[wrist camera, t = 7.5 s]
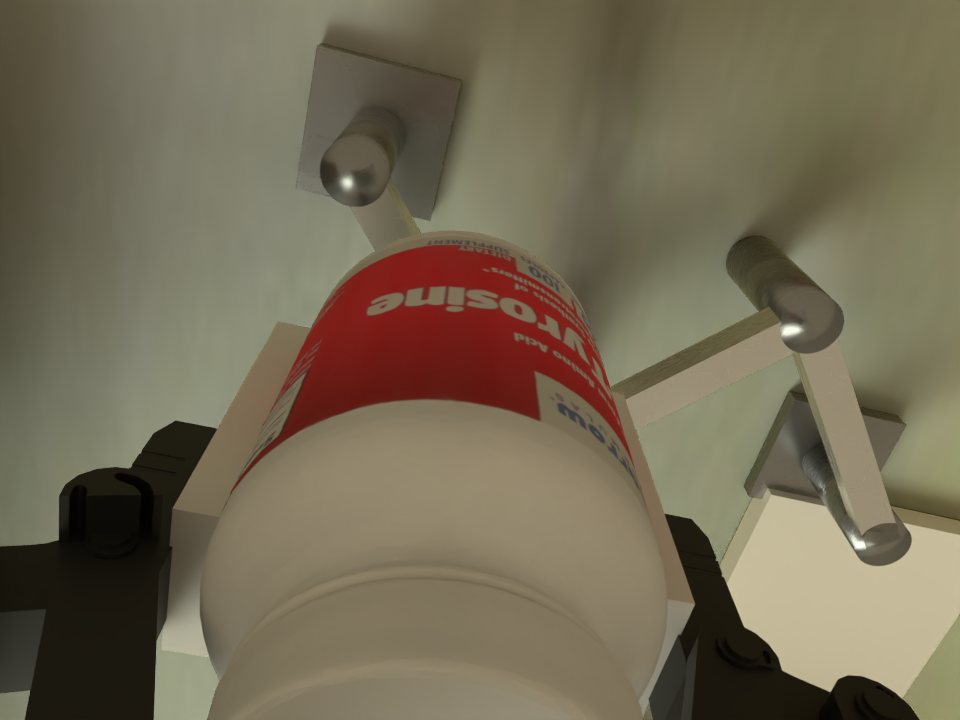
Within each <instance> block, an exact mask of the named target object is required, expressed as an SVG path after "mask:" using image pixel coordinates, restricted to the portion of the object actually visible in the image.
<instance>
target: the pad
mask: <svg viewBox="0 0 960 720" xmlns="http://www.w3.org/2000/svg"><path fill="white" fill-rule="evenodd" d="M891 508H892V509H893V511H894V512H895V513H896V515H897V516H898V517H899V519H900V520H901V521H902V523H903V524H904V525H905V527H906V528H907V529H908V531H909V532H910V534H911V537H912V543H911V546H910V548H909V550H908V552H907V553H906V554H905V555H904V556H903V557H902V558H901V559H899V560H898V561H896V562H894V563H892V564H889V565H885V566H871V565H868V564H865V563H864V562H862V561H861V560H860V559H859V558H858V556H857V555H856V553H855V551H854V550H853V548H852V547H851V545H850V544H849V542H848V540H847V539H846V537H845V536H844V534H843V533H842V531H841V529H840V528H839V526H838V525H837V523H836V522H835V520H834V519H833V517H832V515H831V514H830V512H829V511H828V509H827V508H826V506H825V504H824V503H823V501H822V500H821V499H817V498H812V497H807V496H803V495H798V494H794V493H789V492H784V491H780V490H775V489H770V488H767V490H766V492H765V494H764V496H763V498H762V499H758V498H754V497H753V498H752V500H751V502H750V504H749V506H748V508H747V510H746V512H745V514H744V516H743V519H742V521H741V523H740V525H739V527H738V529H737V531H736V533H735V535H734V537H733V539H732V541H731V543H730V545H729V547H728V549H727V551H726V553H725V555H724V558H723V560H722V562H721V564H720V569H721V571H722V577H724V578H725V581H726V583H727V586H728V588H729V591H730V593H731V596H732V598H733V601H734V603H735V606H736V608H737V611H738V613H739V616H740V618H741V621H742V623H743V625H744V627H745V628H747V629H749V630H750V631H752V632H754V633H756V634H757V635H758V636H759V637H761V638H762V639H763V640H764V641H765V642H767V643H768V644H769V645H770V647H771V648H772V649H773V651H774V652H775V653H776V655H777V656H778V658H779V662H780V665H781V668H782V671H784V672H786V673H788V674H790V675H792V676H794V677H796V678H799V679H801V680H803V681H806V682H808V683H810V684H813V685H815V686H817V687H820V688H822V689H824V690H827V691H829V692H831V690H832V688H833V687H834V685H835V683H836V682H837V680H838V679H840V678H842V677H845V676H847V675H853V676H863V677H866V678H868V679H871V680H874V681H876V682H879V683H881V684H882V685H884V686H885V687H887V688H889V689H890V690H892V691H893V692H895V693H896V694H897V695H898V696H900V697H901V698H903V697H904V695H905V694H906V692H907V691H908V689H909V688H910V686H911V685H912V683H913V682H914V680H915V679H916V677H917V676H918V674H919V673H920V672H921V670H922V669H923V667H924V666H925V664H926V663H927V661H928V660H929V658H930V657H931V655H932V654H933V652H934V651H935V649H936V648H937V647H938V645H939V644H940V642H941V641H942V639H943V638H944V636H945V635H946V633H947V632H948V630H949V629H950V627H951V626H952V624H953V623H954V622H955V620H956V619H957V617H958V616H959V614H960V521H958V520H954V519H949V518H944V517H940V516H935V515H931V514H926V513H921V512H917V511H912V510H907V509H903V508H898V507H894V506H891Z"/></svg>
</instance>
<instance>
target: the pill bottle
mask: <svg viewBox="0 0 960 720" xmlns="http://www.w3.org/2000/svg"><path fill="white" fill-rule="evenodd" d="M200 619H201V625H202V630H203V636H204V640H205V644H206V647H207V651H208V654H209V657H210V660H211V662H212V665H213V667H214V669H215V672H216V674H217V676H218V678H219V680H220V682H219V684H218V686H217V689H216V691H215V694H214V698H213V701H212V705H211V708H210V712H209V715H208V719H207V720H643V716H642V711H641V707H640V704H639V702H638V701H639V699H640V698H641V696H642V694H643V693H644V691H645V689H646V688H647V686H648V683H649V681H650V679H651V677H652V675H653V673H654V671H655V668H656V665H657V662H658V659H659V656H660V653H661V649H662V645H663V641H664V637H665V632H666V622H667V586H666V580H665V574H664V567H663V563H662V559H661V552H660V547H659V545H658V542H657V538H656V535H655V531H654V528H653V525H652V522H651V519H650V515H649V512H648V509H647V506H646V503H645V500H644V496H643V493H642V488H641V486H640V483H639V481H638V477H637V474H636V471H635V467H634V464H633V460H632V457H631V454H630V450H629V447H628V444H627V441H626V438H625V434H624V431H623V428H622V424H621V421H620V417H619V414H618V411H617V408H616V405H615V402H614V398H613V395H612V392H611V389H610V386H609V382H608V380H607V376H606V373H605V370H604V366H603V363H602V360H601V356H600V354H599V351H598V347H597V344H596V341H595V338H594V335H593V331H592V329H591V326H590V323H589V321H588V319H587V316H586V314H585V312H584V310H583V308H582V306H581V304H580V302H579V300H578V299H577V297H576V296H575V294H574V293H573V291H572V290H571V289H570V287H569V286H568V285H567V283H566V282H565V281H564V280H563V279H562V278H561V277H560V276H559V275H558V274H557V273H556V272H555V271H554V270H553V269H552V268H550V267H549V266H548V265H547V264H546V263H544V262H543V261H542V260H540V259H539V258H537V257H536V256H534V255H532V254H531V253H529V252H528V251H526V250H524V249H522V248H520V247H518V246H516V245H514V244H511V243H509V242H506V241H504V240H501V239H499V238H495V237H491V236H487V235H483V234H479V233H472V232H463V231H439V232H428V233H421V234H417V235H413V236H410V237H406V238H403V239H400V240H397V241H395V242H393V243H390V244H388V245H386V246H384V247H382V248H380V249H378V250H377V251H375V252H373V253H371V254H370V255H368V256H367V257H366V258H364V259H363V260H361V261H360V262H359V263H358V264H357V265H355V266H354V267H353V268H352V269H351V270H350V271H349V272H348V273H347V274H346V275H345V276H344V277H343V278H342V279H341V280H340V282H339V283H338V284H337V285H336V287H335V288H334V289H333V290H332V292H331V294H330V295H329V297H328V299H327V300H326V302H325V304H324V306H323V307H322V309H321V311H320V313H319V315H318V316H317V318H316V320H315V322H314V323H313V325H312V327H311V330H310V331H309V334H308V335H307V337H306V340H305V342H304V344H303V346H302V347H301V350H300V352H299V354H298V356H297V358H296V360H295V362H294V364H293V366H292V368H291V370H290V372H289V374H288V376H287V378H286V380H285V382H284V384H283V386H282V388H281V391H280V393H279V395H278V397H277V398H276V401H275V403H274V405H273V407H272V409H271V411H270V413H269V415H268V417H267V419H266V421H265V422H264V424H263V425H262V428H261V431H260V434H259V436H258V438H257V440H256V442H255V444H254V447H253V449H252V451H251V453H250V455H249V457H248V459H247V461H246V463H245V465H244V467H243V469H242V471H241V473H240V475H239V477H238V479H237V481H236V483H235V485H234V487H233V489H232V490H231V492H230V496H229V498H228V500H227V502H226V504H225V506H224V508H223V510H222V513H221V515H220V518H219V520H218V523H217V526H216V528H215V531H214V533H213V535H212V538H211V540H210V543H209V546H208V550H207V554H206V558H205V562H204V566H203V571H202V576H201V584H200Z"/></svg>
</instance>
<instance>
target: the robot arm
mask: <svg viewBox="0 0 960 720" xmlns="http://www.w3.org/2000/svg"><path fill="white" fill-rule="evenodd" d="M310 330H311V328H306V327H301V326H297V325H292V324H287V323H282V322H278V323H277V324H276V326H275V328H274V330H273V331H272V333H271V335H270V337H269V338H268V340H267V342H266V344H265V346H264V347H263V349H262V351H261V353H260V354H259V356H258V358H257V360H256V361H255V363H254V365H253V367H252V369H251V370H250V372H249V374H248V376H247V377H246V379H245V381H244V383H243V385H242V386H241V388H240V390H239V392H238V393H237V395H236V397H235V399H234V400H233V402H232V404H231V406H230V408H229V409H228V411H227V413H226V415H225V416H224V418H223V420H222V422H221V424H220V425H219V427H218V429H216V428H211V427H206V426H201V425H195V424H190V423H185V422H180V421H174V422H173V423H171V424H169V425H167V426H166V427H164V428H162V429H160V430H159V431H157V432H155V433H154V434H153V435H152V437H151V438H150V440H149V441H148V442H147V444H146V445H145V447H144V448H143V450H142V453H141V454H139V455H138V457H137V458H136V460H135V461H134V463H133V464H132V467H131V468H129V469H127V468H118V467H113V468H103V469H96V470H93V471H90V472H87V473H84V474H81V475H78V476H77V477H75V478H74V479H73V480H71V481H70V482H68V483H67V484H66V485H65V486H64V488H63V490H62V492H61V493H60V495H59V540H58V541H54V542H50V543H45V544H37V545H23V546H1V547H0V693H8V692H17V691H26V690H31V691H30V696H29V701H28V706H27V711H26V717H25V720H153V719H154V692H155V666H156V640H157V638H158V636H159V634H160V632H161V630H162V628H163V631H162V643H161V650H167V651H173V652H179V653H185V654H191V655H197V656H203V657H209V654H208V651H207V647H206V644H205V640H204V636H203V630H202V625H201V619H200V584H201V576H202V571H203V566H204V562H205V558H206V554H207V550H208V546H209V543H210V540H211V538H212V535H213V533H214V531H215V528H216V526H217V523H218V520H219V518H220V515H221V513H222V510H223V508H224V506H225V504H226V502H227V500H228V498H229V496H230V492H231V490H232V489H233V487H234V485H235V483H236V481H237V479H238V477H239V475H240V473H241V471H242V469H243V467H244V465H245V463H246V461H247V459H248V457H249V455H250V453H251V451H252V449H253V447H254V444H255V442H256V440H257V438H258V436H259V434H260V431H261V428H262V425H263V424H264V422H265V421H266V419H267V417H268V415H269V413H270V411H271V409H272V407H273V405H274V403H275V401H276V398H277V397H278V395H279V393H280V391H281V388H282V386H283V384H284V382H285V380H286V378H287V376H288V374H289V372H290V370H291V368H292V366H293V364H294V362H295V360H296V358H297V356H298V354H299V352H300V350H301V347H302V346H303V344H304V342H305V340H306V337H307V335H308V334H309V331H310ZM612 395H613V398H614V402H615V405H616V408H617V411H618V414H619V417H620V421H621V424H622V428H623V431H624V434H625V438H626V441H627V444H628V447H629V450H630V454H631V457H632V460H633V464H634V467H635V471H636V474H637V477H638V481H639V483H640V486H641V488H642V493H643V496H644V500H645V503H646V506H647V509H648V512H649V515H650V519H651V522H652V525H653V528H654V531H655V535H656V538H657V542H658V545H659V547H660V552H661V559H662V563H663V567H664V574H665V580H666V586H667V622H666V632H665V637H664V641H663V645H662V649H661V653H660V656H659V659H658V662H657V665H656V668H655V671H654V673H653V675H652V677H651V679H650V681H649V683H648V686H647V688H646V689H645V691H644V693H643V694H642V696H641V698H640V699H639V701H638V702H639V704H640V707H641V711H642V716H644V714H645V711H646V709H647V707H648V705H649V703H650V708H651V712H652V716H653V720H919V718H918V717H917V715H916V714H915V713H914V711H913V710H912V708H911V707H910V706H909V705H908V704H907V703H906V702H905V701H904V700H903V699H902V698H901V697H900V696H898V695H897V694H896V693H895V692H893V691H892V690H890V689H889V688H887V687H885V686H884V685H882V684H881V683H879V682H876V681H874V680H871V679H868V678H866V677H863V676H853V675H847V676H845V677H842V678H840V679H838V680H837V682H836V683H835V685H834V687H833V688H832V690H831V692H829V691H827V690H824V689H822V688H820V687H817V686H815V685H813V684H810V683H808V682H806V681H803V680H801V679H799V678H796V677H794V676H792V675H790V674H788V673H786V672H784V671H782V668H781V665H780V662H779V658H778V656H777V655H776V653H775V652H774V651H773V649H772V648H771V647H770V645H769V644H768V643H767V642H765V641H764V640H763V639H762V638H761V637H759V636H758V635H757V634H756V633H754V632H752V631H750V630H749V629H747V628H745V627H744V625H743V623H742V621H741V618H740V616H739V613H738V611H737V608H736V606H735V603H734V601H733V598H732V596H731V593H730V591H729V588H728V586H727V583H726V581H725V578H724V577H722V571H721V569H720V566H719V564H718V561H716V556H715V554H714V551H713V549H712V546H711V544H710V541H709V539H708V537H707V536H706V535H705V534H704V533H703V532H702V531H701V529H700V528H699V527H698V526H697V525H696V524H695V523H694V522H693V520H692V519H688V518H683V517H678V516H673V515H668V514H664V511H663V508H662V506H661V503H660V500H659V497H658V494H657V491H656V488H655V485H654V482H653V479H652V476H651V473H650V470H649V467H648V464H647V462H646V459H645V456H644V453H643V450H642V447H641V444H640V441H639V438H638V435H637V432H636V429H635V426H634V423H633V421H632V418H631V415H630V412H629V409H628V406H627V403H626V400H625V397H624V394H621V393H616V392H612ZM209 658H210V657H209Z"/></svg>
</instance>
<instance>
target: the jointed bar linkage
mask: <svg viewBox="0 0 960 720" xmlns="http://www.w3.org/2000/svg"><path fill="white" fill-rule="evenodd" d="M461 83H462V80H458V79H455V78H451V77H447V76H443V75H439V74H435V73H432V72H428V71H424V70H420V69H416V68H413V67H409V66H405V65H401V64H397V63H393V62H390V61H386V60H382V59H378V58H374V57H371V56H367V55H363V54H359V53H355V52H351V51H348V50H344V49H340V48H336V47H332V46H329V45H325V44H319V45H317V49H316V56H315V63H314V69H313V76H312V83H311V90H310V96H309V103H308V110H307V116H306V123H305V130H304V137H303V143H302V150H301V157H300V163H299V170H298V177H297V184H296V188H297V189H301V190H305V191H309V192H313V193H318V194H322V195H326V196H330V197H332V198H333V199H335V200H336V201H338V202H339V203H341V204H344V205H347V206H350V208H351V210H352V212H353V213H354V215H355V217H356V218H357V220H358V222H359V224H360V225H361V227H362V229H363V230H364V232H365V234H366V236H367V237H368V239H369V241H370V242H371V244H372V246H373V248H374V249H375V251H377V250H378V249H380V248H382V247H384V246H386V245H388V244H390V243H393V242H395V241H397V240H400V239H403V238H406V237H410V236H413V235H417V234H421V232H420V230H419V229H418V227H417V225H416V223H415V221H414V220H413V218H412V216H413V217H417V218H421V219H425V220H429V221H430V219H431V214H432V210H433V206H434V201H435V197H436V192H437V188H438V184H439V179H440V175H441V170H442V166H443V162H444V157H445V153H446V149H447V144H448V140H449V135H450V131H451V127H452V122H453V118H454V113H455V109H456V105H457V100H458V96H459V91H460V87H461ZM726 268H727V271H728V274H729V275H730V277H731V278H732V279H733V280H734V282H735V283H736V284H737V285H738V287H739V288H740V289H741V290H742V292H743V293H744V294H745V295H746V297H747V298H748V299H749V300H750V302H751V303H752V304H753V305H754V306H755V308H756V309H757V310H758V311H759V312H757V313H755V314H753V315H751V316H749V317H747V318H745V319H743V320H741V321H739V322H737V323H736V324H734V325H732V326H730V327H728V328H726V329H724V330H722V331H720V332H718V333H716V334H714V335H712V336H710V337H708V338H706V339H704V340H702V341H700V342H698V343H696V344H694V345H692V346H690V347H688V348H686V349H684V350H682V351H680V352H678V353H676V354H674V355H672V356H670V357H669V358H667V359H665V360H663V361H661V362H659V363H657V364H655V365H653V366H651V367H649V368H647V369H645V370H643V371H641V372H639V373H637V374H635V375H633V376H631V377H629V378H627V379H625V380H623V381H621V382H619V383H617V384H615V385H613V386H611V387H610V389H611V392H616V393H621V394H624V397H625V400H626V403H627V406H628V409H629V412H630V415H631V418H632V421H633V423H634V426H635V429H636V430H638V429H640V428H642V427H644V426H646V425H648V424H650V423H652V422H654V421H656V420H658V419H660V418H662V417H664V416H666V415H668V414H670V413H672V412H674V411H676V410H678V409H681V408H683V407H685V406H687V405H689V404H691V403H693V402H695V401H697V400H699V399H701V398H703V397H705V396H707V395H709V394H711V393H713V392H715V391H717V390H719V389H721V388H723V387H725V386H727V385H730V384H732V383H734V382H736V381H738V380H740V379H742V378H744V377H746V376H748V375H750V374H752V373H754V372H756V371H758V370H760V369H762V368H764V367H766V366H768V365H770V364H772V363H774V362H777V361H779V360H781V359H783V358H785V357H787V356H789V355H791V354H792V355H793V358H794V361H795V364H796V367H797V370H798V372H799V375H800V378H801V381H802V384H803V387H804V390H805V393H806V395H804V394H800V393H795V392H791V391H789V393H788V395H787V397H786V399H785V401H784V403H783V405H782V407H781V410H780V412H779V414H778V416H777V418H776V420H775V422H774V424H773V426H772V428H771V430H770V433H769V435H768V437H767V439H766V441H765V443H764V445H763V447H762V449H761V451H760V453H759V456H758V458H757V460H756V462H755V464H754V466H753V468H752V470H751V472H750V474H749V476H748V479H747V481H746V483H745V485H744V488H745V490H746V492H747V494H748V496H749V497H754V498H758V499H762V498H763V496H764V494H765V492H766V490H767V488H770V489H775V490H780V491H784V492H789V493H794V494H798V495H803V496H807V497H812V498H817V499H821V500H822V501H823V503H824V504H825V506H826V508H827V509H828V511H829V512H830V514H831V515H832V517H833V519H834V520H835V522H836V523H837V525H838V526H839V528H840V529H841V531H842V533H843V534H844V536H845V537H846V539H847V540H848V542H849V544H850V545H851V547H852V548H853V550H854V551H855V553H856V555H857V556H858V558H859V559H860V560H861V561H862V562H864V563H865V564H868V565H871V566H885V565H889V564H892V563H894V562H896V561H898V560H899V559H901V558H902V557H903V556H904V555H905V554H906V553H907V552H908V550H909V548H910V546H911V543H912V537H911V534H910V532H909V531H908V529H907V528H906V527H905V525H904V524H903V523H902V521H901V520H900V519H899V517H898V516H897V515H896V513H895V512H894V511H893V509H892V508H891V506H890V503H889V500H888V497H887V494H886V490H885V487H884V484H883V481H882V478H881V474H880V471H881V469H882V468H883V466H884V464H885V462H886V461H887V459H888V457H889V455H890V453H891V452H892V450H893V448H894V446H895V445H896V443H897V441H898V439H899V437H900V436H901V434H902V432H903V430H904V429H905V427H906V424H905V423H904V422H903V421H902V420H901V419H900V418H899V417H898V416H895V415H891V414H887V413H882V412H878V411H874V410H869V409H865V408H861V407H859V404H858V401H857V398H856V395H855V392H854V388H853V385H852V382H851V379H850V376H849V373H848V369H847V366H846V363H845V360H844V357H843V353H842V350H841V347H840V344H839V341H838V336H839V335H840V333H841V331H842V328H843V324H844V316H843V312H842V310H841V308H840V306H839V305H838V304H837V303H836V302H835V301H834V300H833V299H832V298H831V297H830V296H829V295H828V294H826V293H825V292H824V291H823V290H822V289H821V288H820V287H819V286H818V285H817V284H816V283H815V282H814V281H813V280H812V279H811V278H810V277H809V276H807V275H806V274H805V273H804V272H803V271H802V270H801V269H800V268H799V267H798V266H797V265H796V264H795V263H794V262H793V261H792V260H791V259H789V258H788V257H787V256H786V255H785V254H784V253H783V252H782V251H781V250H780V249H779V248H778V247H777V246H776V245H775V244H774V243H773V242H772V241H770V240H769V239H767V238H765V237H762V236H751V237H747V238H744V239H742V240H740V241H739V242H738V243H736V244H735V245H734V246H733V247H732V249H731V250H730V252H729V254H728V256H727V261H726Z"/></svg>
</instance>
